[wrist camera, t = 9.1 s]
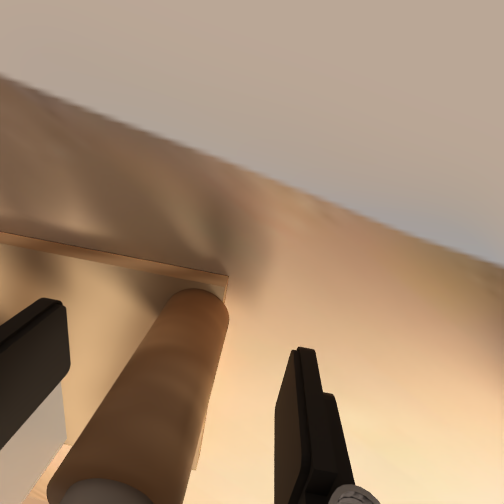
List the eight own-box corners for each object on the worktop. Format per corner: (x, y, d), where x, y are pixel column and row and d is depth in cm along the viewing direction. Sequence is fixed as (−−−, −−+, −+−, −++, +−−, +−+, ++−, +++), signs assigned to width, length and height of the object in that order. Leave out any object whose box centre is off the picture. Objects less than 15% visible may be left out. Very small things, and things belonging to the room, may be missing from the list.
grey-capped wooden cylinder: (233, 295, 12) (137, 653, 4) (224, 348, 13) (132, 720, 5) (167, 282, 12) (-78, 609, 4) (163, 336, 13) (-35, 686, 5)
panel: (228, 276, 13) (224, 288, 12) (199, 452, 17) (195, 472, 16) (-167, 199, 13) (-206, 204, 12) (-94, 394, 18) (-117, 410, 16)
